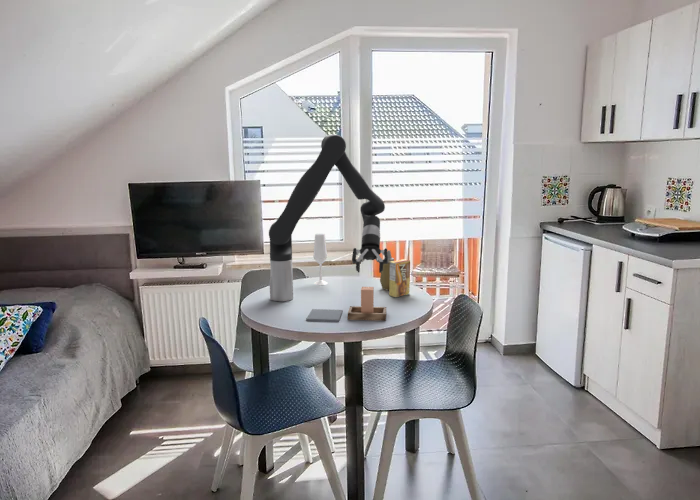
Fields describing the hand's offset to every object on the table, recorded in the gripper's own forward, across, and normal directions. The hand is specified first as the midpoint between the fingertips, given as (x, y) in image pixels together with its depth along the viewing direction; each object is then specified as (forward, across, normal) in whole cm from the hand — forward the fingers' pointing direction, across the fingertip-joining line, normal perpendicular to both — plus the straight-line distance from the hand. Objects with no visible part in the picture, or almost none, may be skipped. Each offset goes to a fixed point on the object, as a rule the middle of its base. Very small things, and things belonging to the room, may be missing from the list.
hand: (369, 271), depth 185 cm
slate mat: (+19, -16, +2) cm, 25 cm away
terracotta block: (+18, 0, +3) cm, 18 cm away
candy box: (-4, +12, +25) cm, 28 cm away
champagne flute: (-16, -26, +38) cm, 49 cm away
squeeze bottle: (-11, +7, +32) cm, 35 cm away
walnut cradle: (+18, 0, +3) cm, 18 cm away
